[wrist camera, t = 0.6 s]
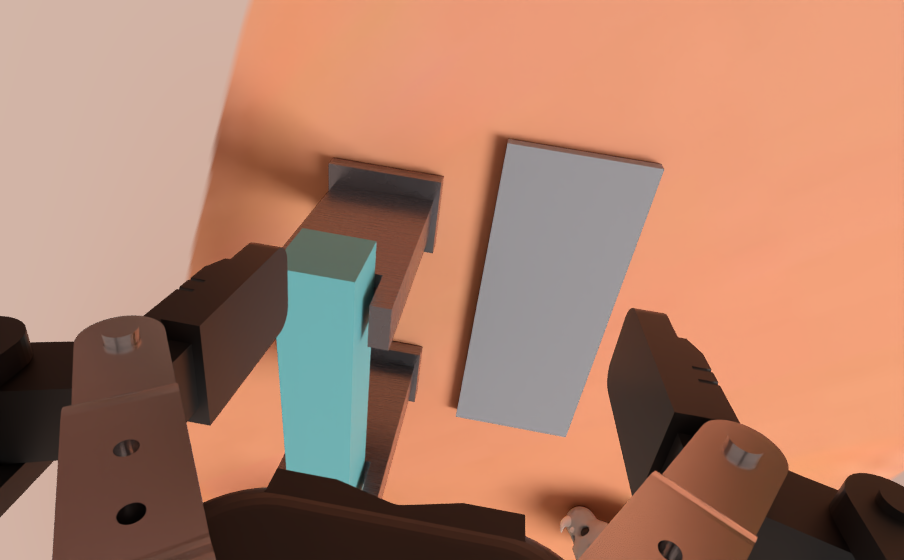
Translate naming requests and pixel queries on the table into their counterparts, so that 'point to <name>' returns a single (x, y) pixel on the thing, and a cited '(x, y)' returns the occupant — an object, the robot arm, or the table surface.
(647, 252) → the table surface
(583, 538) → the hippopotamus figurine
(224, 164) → the table surface
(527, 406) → the rubber mat
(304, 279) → the rail bar
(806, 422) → the table surface
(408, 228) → the bracket stand
